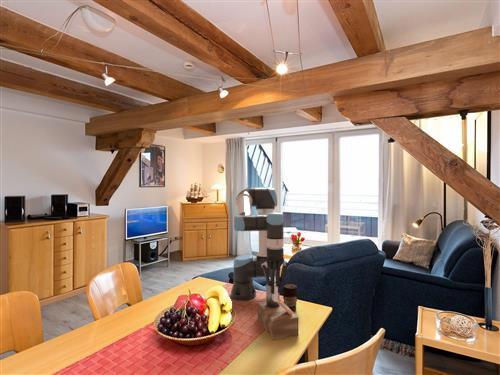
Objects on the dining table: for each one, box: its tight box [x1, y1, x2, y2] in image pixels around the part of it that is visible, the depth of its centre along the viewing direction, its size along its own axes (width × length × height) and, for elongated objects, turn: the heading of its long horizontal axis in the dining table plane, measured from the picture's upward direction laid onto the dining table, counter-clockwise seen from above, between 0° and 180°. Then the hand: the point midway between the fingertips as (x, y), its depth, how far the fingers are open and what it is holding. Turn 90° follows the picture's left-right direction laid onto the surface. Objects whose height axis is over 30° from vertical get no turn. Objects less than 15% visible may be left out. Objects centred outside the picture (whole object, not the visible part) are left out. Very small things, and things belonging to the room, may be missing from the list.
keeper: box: [277, 300, 293, 316], centre depth 125 cm, size 5×9×1 cm
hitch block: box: [257, 299, 300, 341], centre depth 130 cm, size 20×12×8 cm, turn 17°
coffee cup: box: [281, 283, 299, 313], centre depth 146 cm, size 9×8×13 cm
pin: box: [265, 283, 281, 308], centre depth 135 cm, size 6×6×15 cm
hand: (275, 300), depth 124 cm, fingers closed
